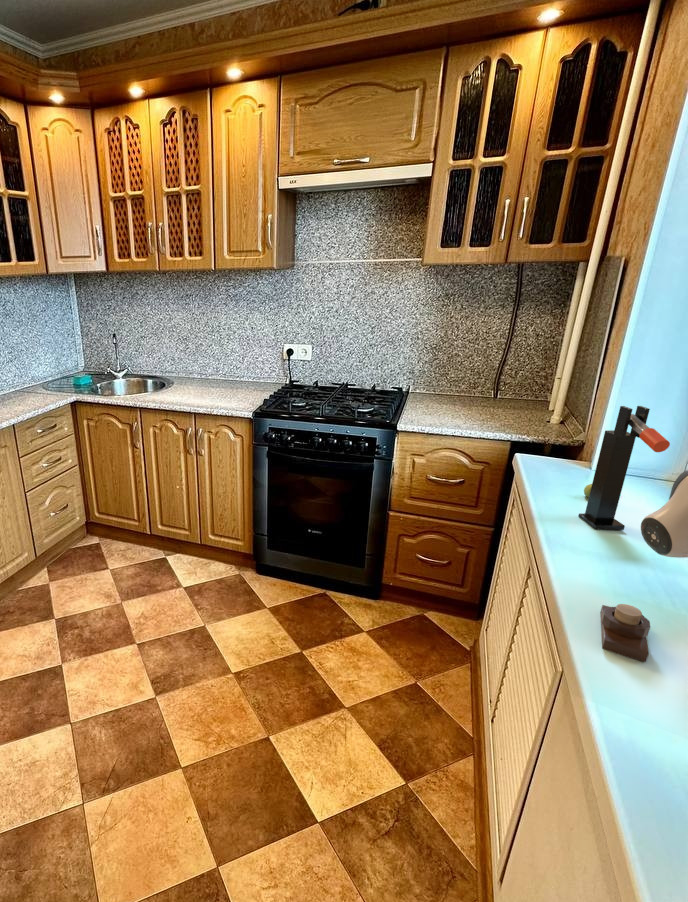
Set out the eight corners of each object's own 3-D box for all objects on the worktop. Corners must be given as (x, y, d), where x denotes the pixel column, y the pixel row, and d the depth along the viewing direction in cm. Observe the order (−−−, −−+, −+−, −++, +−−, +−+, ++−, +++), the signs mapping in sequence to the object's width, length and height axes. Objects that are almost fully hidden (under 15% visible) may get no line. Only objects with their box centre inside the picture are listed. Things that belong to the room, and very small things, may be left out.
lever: (665, 452, 116) (672, 440, 114) (650, 452, 116) (657, 440, 114) (632, 422, 126) (638, 410, 124) (618, 422, 126) (623, 410, 124)
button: (613, 611, 95) (615, 601, 95) (638, 617, 93) (641, 607, 93) (614, 621, 93) (616, 611, 92) (640, 628, 91) (643, 618, 90)
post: (623, 529, 131) (657, 409, 120) (594, 529, 132) (625, 409, 121) (605, 517, 138) (635, 402, 127) (577, 517, 138) (605, 402, 128)
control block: (598, 613, 101) (603, 595, 99) (641, 624, 97) (646, 606, 96) (600, 649, 91) (605, 630, 90) (647, 662, 88) (653, 643, 86)
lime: (578, 496, 150) (584, 480, 148) (594, 495, 151) (599, 480, 149) (590, 503, 146) (596, 487, 144) (606, 503, 147) (612, 486, 145)
